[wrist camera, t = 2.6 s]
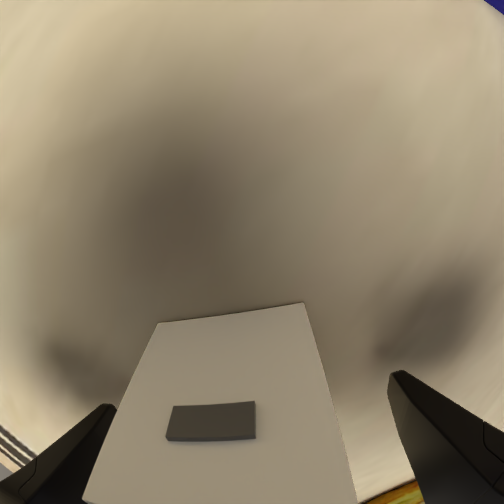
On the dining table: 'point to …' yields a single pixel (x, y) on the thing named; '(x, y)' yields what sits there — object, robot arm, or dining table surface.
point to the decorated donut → (401, 496)
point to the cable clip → (497, 4)
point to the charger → (226, 418)
